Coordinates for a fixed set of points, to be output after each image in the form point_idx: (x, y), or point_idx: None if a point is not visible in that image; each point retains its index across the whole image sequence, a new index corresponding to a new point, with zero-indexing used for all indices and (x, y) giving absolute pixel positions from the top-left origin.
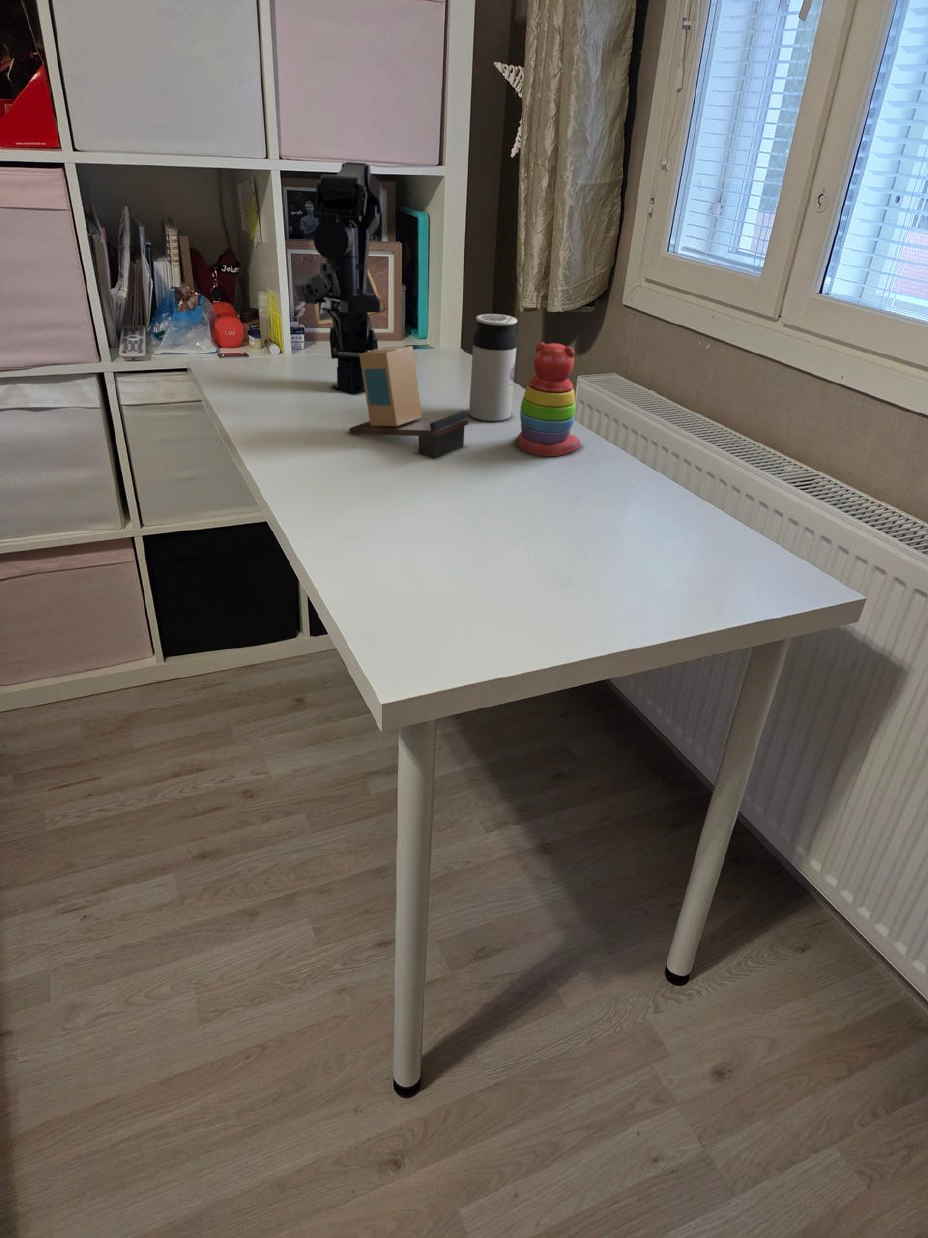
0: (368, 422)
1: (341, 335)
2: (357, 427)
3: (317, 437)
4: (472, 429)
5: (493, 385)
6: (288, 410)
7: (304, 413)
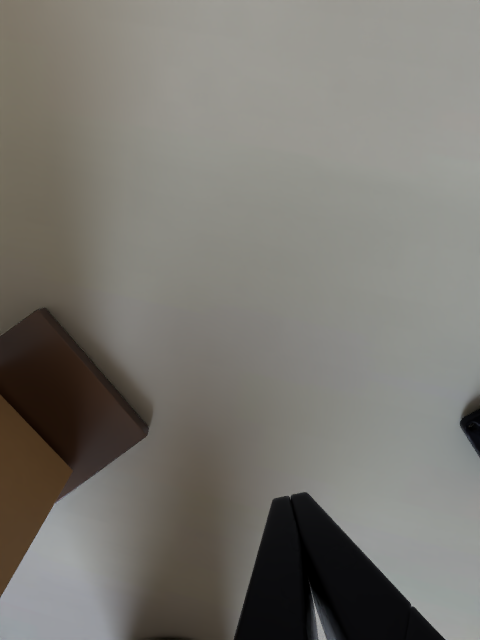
0: (81, 381)
1: (252, 601)
2: (19, 334)
3: (9, 191)
4: (73, 609)
5: None
6: (331, 134)
7: (281, 194)
